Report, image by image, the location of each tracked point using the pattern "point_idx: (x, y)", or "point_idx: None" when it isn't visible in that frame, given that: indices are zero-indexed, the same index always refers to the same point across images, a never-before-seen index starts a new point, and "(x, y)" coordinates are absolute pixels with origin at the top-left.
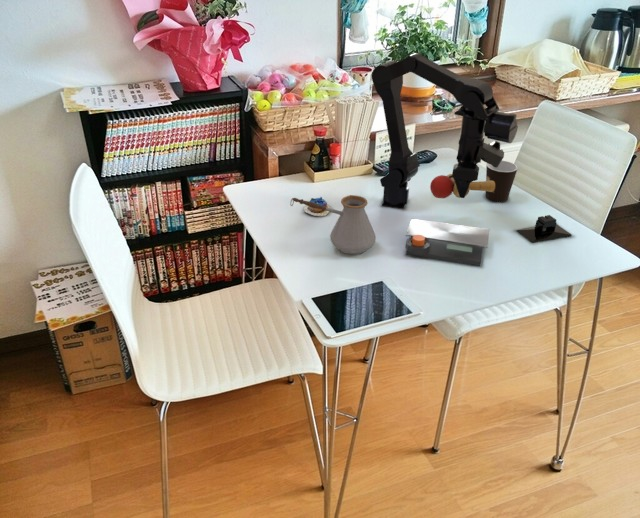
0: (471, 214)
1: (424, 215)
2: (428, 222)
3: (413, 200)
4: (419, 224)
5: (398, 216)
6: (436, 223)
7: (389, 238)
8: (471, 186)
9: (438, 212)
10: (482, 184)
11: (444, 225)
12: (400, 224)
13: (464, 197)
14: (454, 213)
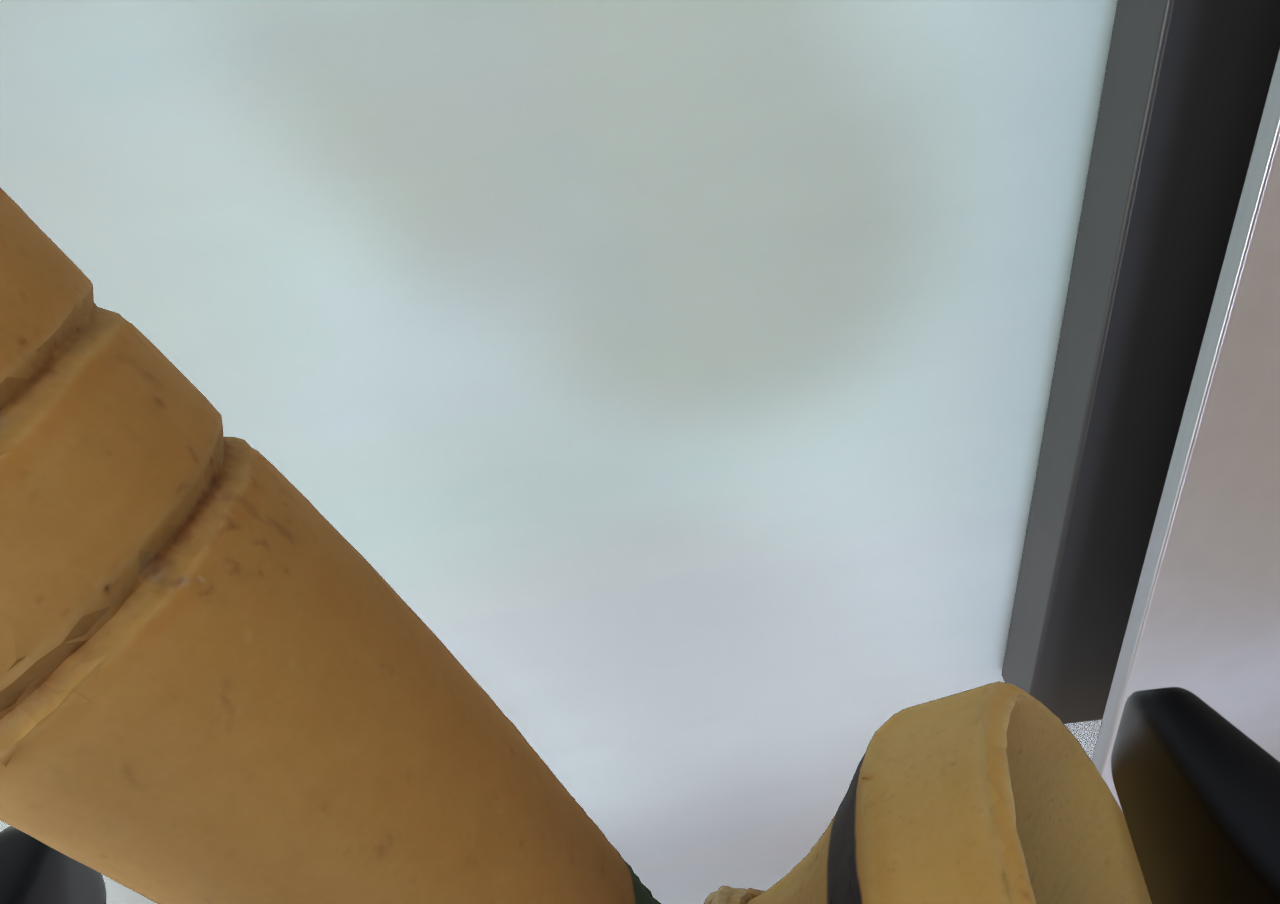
0: (68, 70)
1: (549, 678)
2: (1177, 680)
3: None
4: None
5: (705, 858)
6: (1206, 591)
7: None
8: (505, 801)
9: None
10: (13, 520)
11: (1275, 479)
12: None
13: (1199, 699)
14: (238, 364)
